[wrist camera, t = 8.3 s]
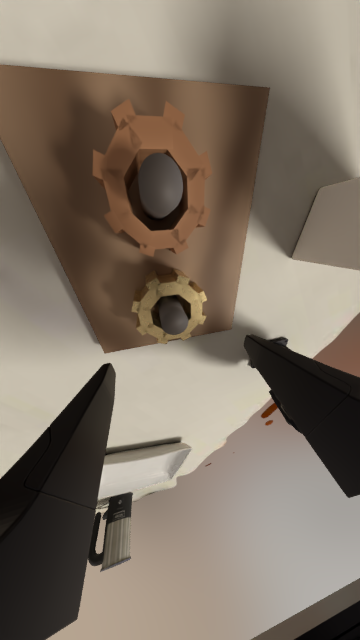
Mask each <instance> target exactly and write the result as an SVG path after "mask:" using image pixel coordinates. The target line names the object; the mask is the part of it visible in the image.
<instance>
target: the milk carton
mask: <svg viewBox="0 0 360 640" xmlns="http://www.w3.org/2000/svg"><path fill="white" fill-rule="evenodd" d="M292 259H294V260H300V261H306V262H312V263H318V264H324V265H330V266H336V267H342V268H348V269H354V270H360V177H359V178H355V179H351V180H347V181H344V182H340V183H336V184H333V185H329V186H325V187H322V188H320V189H319V191H318V193H317V196H316V198H315V201H314V203H313V206H312V208H311V211H310V213H309V216H308V218H307V221H306V223H305V226H304V228H303V231H302V233H301V236H300V238H299V241H298V243H297V246H296V248H295V251H294V253H293V256H292Z"/></svg>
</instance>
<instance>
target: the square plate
mask: <svg viewBox="0 0 360 640" xmlns="http://www.w3.org/2000/svg"><path fill="white" fill-rule="evenodd" d="M191 450H192V447H190V446H189V445H187V444H185V443H173V444H163V445H157V446H151V447H146V448H140V449H134V450H128V451H122V452H116V453H112V454H109V455H106V456H105V458H104V464H103V470H102V476H101V482H100V488H99V494H98V499H101V498H105V497H110V496H114V495H119V494H124V493H128V492H132V491H135V490H139V489H143V488H146V487H149V486H153V485H156V484H159V483H162V482H166V481H169V480H171V479H172V478H173V477H174V476H175V474H176V473H177V472H178V470H179V469H180V467H181V466H182V465H183V463H184V461H185V460H186V458H187V457H188V455H189V453H190V452H191Z"/></svg>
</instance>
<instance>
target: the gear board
mask: <svg viewBox="0 0 360 640" xmlns="http://www.w3.org/2000/svg"><path fill="white" fill-rule="evenodd" d="M269 89H270V88H267V87H255V86H244V85H232V84H220V83H209V82H197V81H185V80H174V79H162V78H150V77H139V76H127V75H116V74H104V73H92V72H81V71H69V70H57V69H46V68H34V67H22V66H11V65H0V139H1V141H2V143H3V145H4V147H5V149H6V151H7V153H8V155H9V157H10V159H11V161H12V164H13V166H14V168H15V170H16V172H17V174H18V176H19V178H20V180H21V182H22V184H23V186H24V188H25V190H26V192H27V194H28V196H29V199H30V201H31V203H32V205H33V207H34V209H35V211H36V213H37V215H38V217H39V219H40V221H41V223H42V225H43V227H44V229H45V232H46V234H47V236H48V238H49V240H50V242H51V244H52V246H53V248H54V250H55V252H56V254H57V256H58V258H59V260H60V262H61V264H62V267H63V269H64V271H65V273H66V275H67V277H68V279H69V281H70V283H71V285H72V287H73V289H74V291H75V293H76V295H77V297H78V300H79V302H80V304H81V306H82V308H83V310H84V312H85V314H86V316H87V318H88V320H89V322H90V324H91V326H92V328H93V330H94V332H95V335H96V337H97V339H98V341H99V343H100V345H101V347H102V349H103V351H104V353H110V352H115V351H120V350H125V349H130V348H136V347H141V346H146V345H151V344H157V338H156V337H154V336H152V335H150V334H148V333H146V334H144V335H143V336H142V334H141V333H140V332H139V331H138V330H137V329H136V324H137V314H138V313H136V312H131V311H132V305H133V299H134V294H135V290H138V291H141V290H142V289H143V287H144V286H145V285H146V280H145V276H146V275H148V274H149V273H151V272H153V271H155V272H156V274H157V275H165V274H171V272H172V269H176V270H179V271H182V272H183V273H184V274H185V275H186V276H187V277H188V278H190V279H189V282H188V283H189V284H192V283H194V282H195V283H196V284H197V285H198V286H199V287H200V288H201V289H202V290H203V291H204V293H205V296H206V298H207V300H206V301H205V302H203V303H202V311H203V312H204V313H205V315H206V319H205V321H204V323H203V325H202V324H198V325H197V326H196V327H195V328H194V329H193V330H192V331H191V332H190V334H191V337H193V336H199V335H204V334H209V333H214V332H220V331H225V330H230V329H231V328H232V322H233V315H234V309H235V303H236V297H237V290H238V284H239V278H240V272H241V265H242V259H243V253H244V246H245V240H246V234H247V228H248V221H249V215H250V209H251V202H252V196H253V190H254V184H255V177H256V171H257V165H258V158H259V152H260V146H261V140H262V133H263V127H264V121H265V114H266V108H267V102H268V96H269ZM183 307H184V298H183V297H182V296H180V295H179V294H176V295H169V296H162V297H160V298H159V300H158V301H157V302H156V303H155V305H154V306H153V307H152V308H151V309H152V311H153V312H154V313H156V314H158V315H159V316H160V320H161V326H162V329H163V331H164V332H165V333H167V334H170V335H177V334H180V333H182V332H183V331H184V330H185V329H186V328H187V326H188V318H187V316H186V314H185V312H184V310H183ZM178 339H181V338H176V339H171V340H168V341H172V340H178Z"/></svg>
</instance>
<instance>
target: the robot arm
mask: <svg viewBox="0 0 360 640" xmlns="http://www.w3.org/2000/svg"><path fill="white" fill-rule="evenodd" d="M287 342H288V339H287V338H283V339H278V340H273V341H267V340H265V339H262V338H260V337H257V336H255V335H253V334H250V335H246V337H245V341H244V348H245V349H246V351H247V353H248V355H249V357H250V358H251V360H252V363H251V367H252V368H256V369H257V370H258V371H259V373H260V374H261V375H262V377H263V378H264V380H265V381H266V383H267V384H268V385H269V387H270V388H271V390H270V391H269V393H270V395H271V397H272V399H273V400H274V402H275V403H276V405H277V407H278V408H279V410H280V411H281V413H282V414H283V416H284V418H285V420H286V422H287V423H288V424H289V425H292V426H293V427H294V428H295V429H296V430H297V431H298V432H300V433H302V434H303V435H304V436H305V438H306V439H307V441H308V442H309V443H310V445H311V447H312V448H313V449H314V451H315V452H316V453H317V455H318V456H319V458H320V459H321V461H322V462H323V464H324V465H325V466H326V468H327V469H328V471H329V472H330V473H331V475H332V476H333V478H334V479H335V481H336V482H337V483H338V485H339V486H340V488H341V489H342V490H343V492H344V493H345V494H346V496H347V497H348V498H350V497H353V496H357V495H360V377H357V376H354V375H351V374H349V373H346V372H343V371H341V370H338V369H335V368H332V367H330V366H327V365H325V364H323V363H320V362H318V361H316V360H313V359H311V358H308V357H306V356H303V355H301V354H299V353H296V352H294V351H292V350H290V349H289V348H288V347H286V345H287ZM115 378H116V374H115V370H114V368H113V366H112V364H111V363H107V364H103V365H102V366H101V367H100V369H99V370H98V371H97V372H96V373H95V374H94V375H93V377H92V378H91V379H90V380H89V381H88V382H87V383H86V385H85V386H84V387H83V388H82V389H81V390H80V391H79V393H78V394H77V395H76V396H75V397H74V398H73V399H72V401H71V402H70V403H69V404H68V405H67V406H66V407H65V409H64V410H63V411H62V412H61V413H60V414H59V415H58V417H57V418H56V419H55V420H54V421H53V422H52V423H51V425H50V427H48V428H47V429H46V430H45V431H44V433H43V434H42V435H41V436H40V437H39V438H38V439H37V440H36V442H35V443H34V444H33V445H32V446H31V447H30V448H29V449H28V450H27V452H26V453H25V454H24V455H23V456H22V457H21V458H20V459H19V460H18V461H17V462H16V463H15V464H14V465H13V466H12V467H11V468H10V469H9V470H8V471H7V473H6V474H5V475H4V476H3V477H2V478H1V479H0V640H46V639H47V638H49V637H50V636H52V635H54V634H55V633H57V632H58V631H60V630H61V629H63V628H64V627H66V626H68V625H69V624H71V623H72V622H74V621H75V620H77V617H78V612H79V607H80V601H81V595H82V590H83V584H84V577H85V572H86V565H87V560H88V554H89V548H90V542H91V536H92V530H93V524H94V518H95V512H96V510H95V509H96V506H97V500H98V494H99V488H100V482H101V476H102V470H103V464H104V458H105V452H106V447H107V441H108V435H109V429H110V423H111V417H112V411H113V405H114V396H115ZM251 640H360V578H359V579H357V580H356V581H354V582H352V583H350V584H349V585H347V586H345V587H343V588H342V589H340V590H338V591H336V592H334V593H333V594H331V595H329V596H327V597H326V598H324V599H322V600H320V601H319V602H317V603H315V604H313V605H311V606H310V607H308V608H306V609H304V610H302V611H301V612H299V613H297V614H295V615H293V616H292V617H290V618H288V619H286V620H285V621H283V622H281V623H279V624H277V625H276V626H274V627H272V628H271V629H269V630H267V631H265V632H263V633H261V634H260V635H258V636H257V637H254V638H253V639H251Z"/></svg>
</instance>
